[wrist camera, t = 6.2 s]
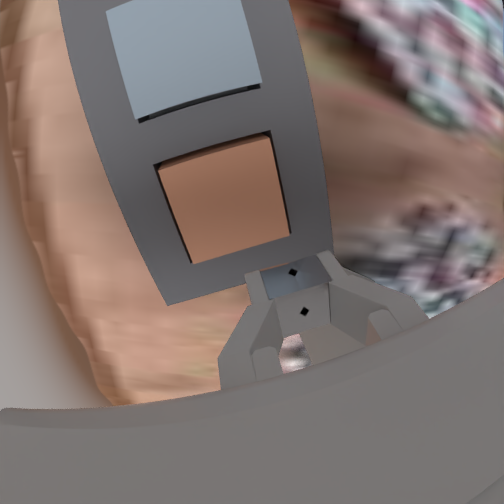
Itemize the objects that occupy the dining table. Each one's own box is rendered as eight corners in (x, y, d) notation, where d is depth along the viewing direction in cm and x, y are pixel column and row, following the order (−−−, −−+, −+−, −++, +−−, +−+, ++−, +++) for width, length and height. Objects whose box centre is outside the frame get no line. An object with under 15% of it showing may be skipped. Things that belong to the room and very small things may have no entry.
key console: (224, -94, 9) (235, -132, 4) (305, 220, 25) (333, 255, 20) (77, -53, 9) (51, -81, 4) (171, 260, 25) (167, 305, 20)
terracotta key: (254, 128, 18) (269, 138, 14) (272, 208, 21) (289, 235, 18) (165, 154, 18) (158, 170, 14) (192, 232, 21) (193, 264, 17)
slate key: (223, 0, 12) (232, -25, 9) (246, 85, 15) (262, 82, 12) (125, 28, 12) (105, 11, 8) (149, 114, 15) (135, 119, 12)
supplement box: (288, 314, 30) (330, 417, 20) (328, 258, 28) (397, 356, 17) (337, 328, 33) (383, 414, 23) (375, 280, 31) (439, 363, 20)
